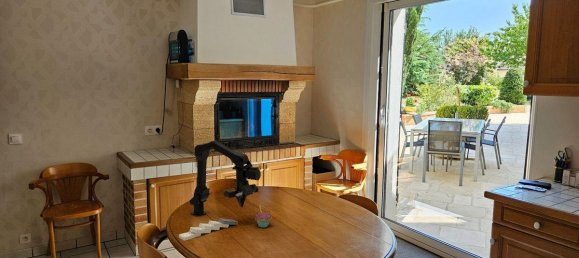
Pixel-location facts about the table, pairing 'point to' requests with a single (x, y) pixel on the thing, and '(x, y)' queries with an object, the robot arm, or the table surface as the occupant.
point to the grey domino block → (228, 221)
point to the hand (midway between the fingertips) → (241, 207)
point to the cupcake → (263, 218)
